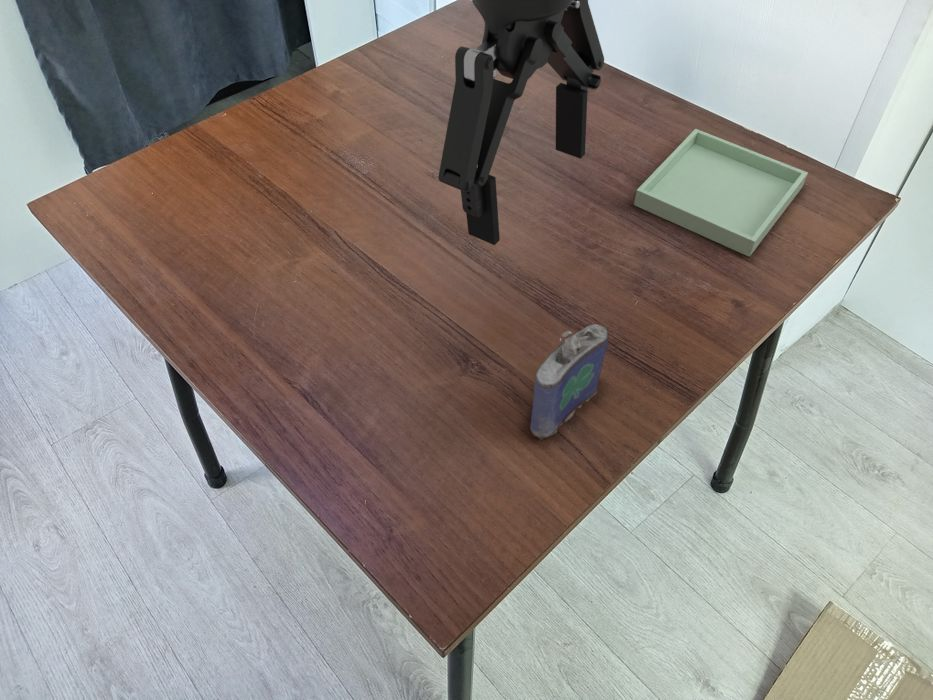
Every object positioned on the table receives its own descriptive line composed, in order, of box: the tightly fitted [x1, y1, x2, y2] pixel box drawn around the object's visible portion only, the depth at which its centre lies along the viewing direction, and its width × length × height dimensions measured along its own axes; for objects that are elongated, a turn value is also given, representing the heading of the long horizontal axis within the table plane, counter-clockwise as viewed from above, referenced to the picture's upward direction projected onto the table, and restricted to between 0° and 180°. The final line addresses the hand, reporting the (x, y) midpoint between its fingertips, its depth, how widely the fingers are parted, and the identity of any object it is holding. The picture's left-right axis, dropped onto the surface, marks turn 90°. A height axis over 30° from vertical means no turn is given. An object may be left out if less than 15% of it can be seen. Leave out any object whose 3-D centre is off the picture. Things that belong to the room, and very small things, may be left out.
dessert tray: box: [633, 128, 809, 258], centre depth 95 cm, size 15×15×2 cm
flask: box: [530, 323, 610, 441], centre depth 73 cm, size 9×3×11 cm, turn 136°
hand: (529, 193), depth 69 cm, fingers open, 13 cm apart
